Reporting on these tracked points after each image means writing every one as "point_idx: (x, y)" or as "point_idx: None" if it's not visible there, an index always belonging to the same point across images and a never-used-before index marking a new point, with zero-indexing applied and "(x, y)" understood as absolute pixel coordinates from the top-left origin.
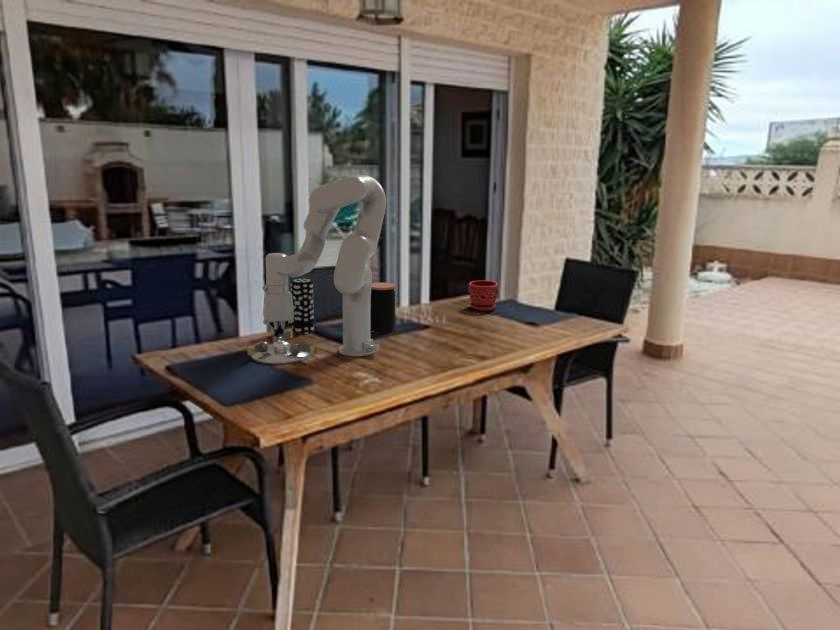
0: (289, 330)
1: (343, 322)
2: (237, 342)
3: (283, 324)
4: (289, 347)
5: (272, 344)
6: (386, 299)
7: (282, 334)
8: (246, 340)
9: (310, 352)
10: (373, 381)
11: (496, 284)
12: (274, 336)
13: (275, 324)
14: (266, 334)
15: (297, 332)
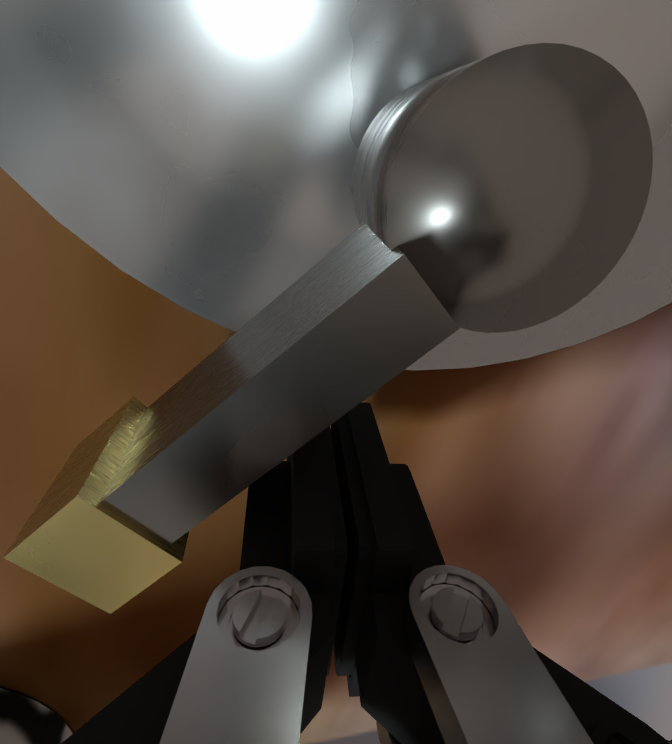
0: (90, 550)
1: None
2: (636, 609)
3: (228, 717)
4: (240, 7)
5: (453, 350)
6: None
7: (351, 295)
8: (544, 636)
9: None
10: None
11: None
12: (563, 285)
13: (525, 728)
14: (323, 726)
15: (15, 713)
